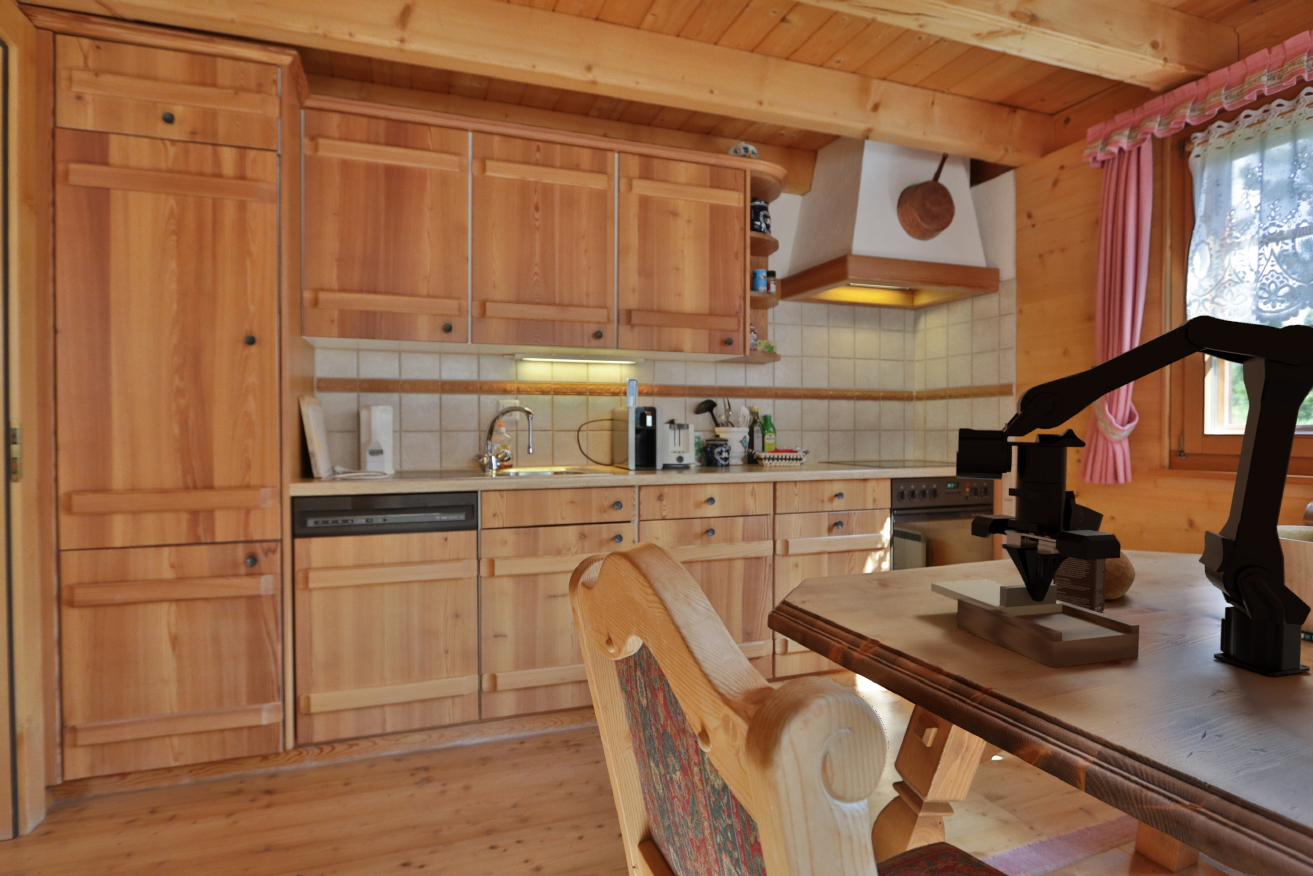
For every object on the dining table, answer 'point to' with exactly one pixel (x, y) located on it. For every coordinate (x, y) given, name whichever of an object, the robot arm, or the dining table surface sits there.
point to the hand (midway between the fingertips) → (1037, 601)
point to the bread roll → (1118, 576)
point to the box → (1082, 583)
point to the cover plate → (1000, 596)
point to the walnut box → (1053, 633)
